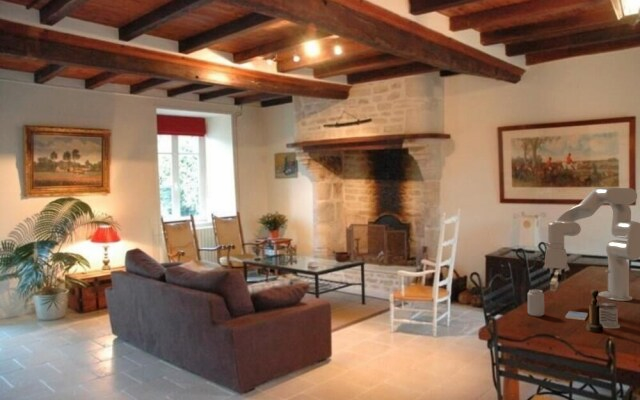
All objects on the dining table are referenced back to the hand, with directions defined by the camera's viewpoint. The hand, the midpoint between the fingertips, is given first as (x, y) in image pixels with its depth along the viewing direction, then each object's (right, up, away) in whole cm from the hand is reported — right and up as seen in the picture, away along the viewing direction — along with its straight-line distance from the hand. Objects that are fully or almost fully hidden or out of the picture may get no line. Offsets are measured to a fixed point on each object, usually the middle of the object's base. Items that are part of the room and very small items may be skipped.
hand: (556, 281), depth 263 cm
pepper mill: (-2, -15, -41) cm, 44 cm away
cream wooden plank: (0, -1, 0) cm, 1 cm away
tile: (+3, -13, -16) cm, 21 cm away
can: (-17, -14, -15) cm, 27 cm away
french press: (+6, -14, -34) cm, 38 cm away
